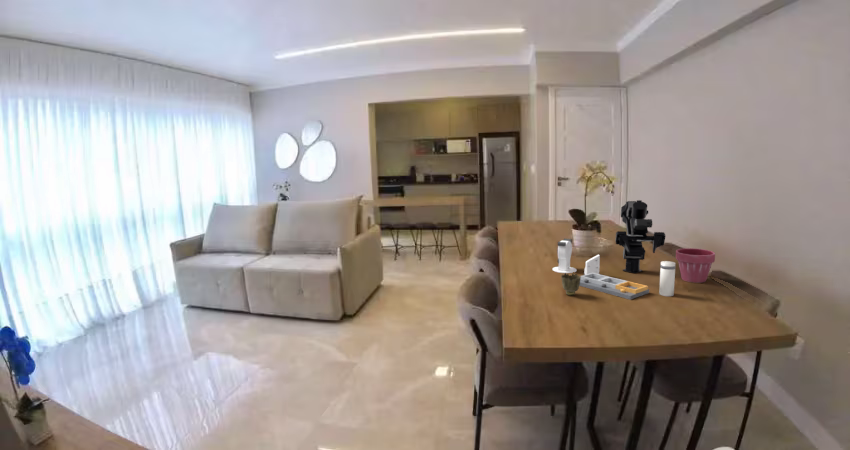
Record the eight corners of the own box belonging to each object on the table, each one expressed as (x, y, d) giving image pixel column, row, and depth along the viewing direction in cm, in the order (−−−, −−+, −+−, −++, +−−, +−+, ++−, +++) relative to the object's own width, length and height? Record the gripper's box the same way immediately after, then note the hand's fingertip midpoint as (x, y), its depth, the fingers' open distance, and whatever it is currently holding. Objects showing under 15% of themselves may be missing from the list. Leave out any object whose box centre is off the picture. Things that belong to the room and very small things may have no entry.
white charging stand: (557, 265, 213) (557, 237, 210) (579, 268, 206) (580, 239, 204) (549, 271, 203) (549, 241, 201) (572, 274, 196) (573, 243, 194)
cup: (580, 292, 170) (580, 273, 169) (580, 298, 163) (581, 278, 162) (561, 291, 173) (561, 272, 171) (560, 296, 166) (561, 277, 165)
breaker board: (593, 278, 188) (593, 272, 188) (649, 292, 166) (649, 285, 166) (574, 284, 181) (574, 277, 181) (630, 299, 159) (630, 292, 159)
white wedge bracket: (609, 270, 191) (599, 255, 190) (589, 281, 192) (580, 266, 192) (606, 268, 194) (597, 253, 194) (587, 279, 196) (578, 264, 195)
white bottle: (663, 291, 167) (664, 260, 165) (676, 294, 163) (678, 262, 161) (656, 294, 165) (658, 262, 163) (669, 297, 160) (671, 265, 158)
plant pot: (677, 283, 177) (679, 254, 175) (671, 274, 190) (673, 247, 188) (717, 285, 171) (719, 256, 169) (708, 276, 184) (710, 248, 182)
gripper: (616, 213, 180) (618, 237, 169) (664, 213, 173) (670, 238, 162) (614, 231, 187) (616, 256, 176) (661, 232, 180) (666, 258, 169)
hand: (641, 252), depth 171 cm, fingers open, 9 cm apart
